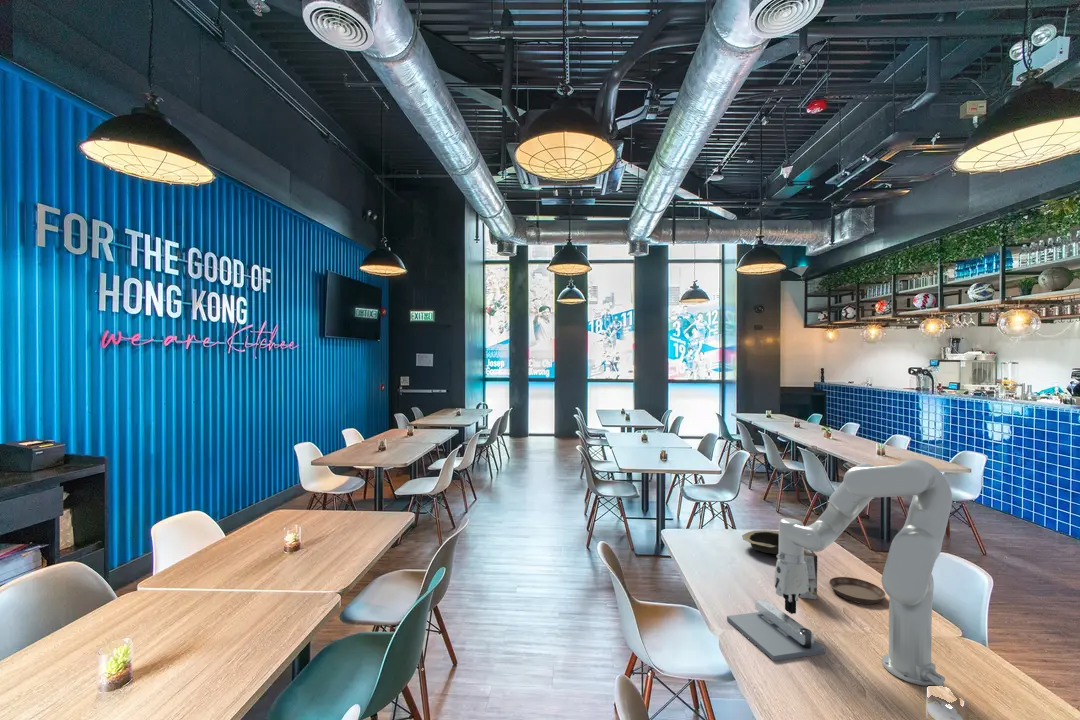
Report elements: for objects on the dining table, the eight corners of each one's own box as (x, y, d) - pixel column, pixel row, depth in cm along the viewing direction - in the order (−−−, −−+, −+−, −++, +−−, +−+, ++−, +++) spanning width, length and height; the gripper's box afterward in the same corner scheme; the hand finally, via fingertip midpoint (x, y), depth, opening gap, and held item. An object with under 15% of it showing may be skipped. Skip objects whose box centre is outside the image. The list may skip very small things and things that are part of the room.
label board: (824, 653, 140) (824, 647, 140) (773, 661, 136) (773, 654, 136) (772, 614, 162) (772, 609, 162) (726, 620, 157) (727, 615, 157)
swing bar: (815, 647, 140) (815, 632, 140) (803, 649, 139) (804, 634, 139) (765, 610, 161) (765, 597, 161) (755, 611, 160) (755, 598, 160)
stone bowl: (814, 563, 204) (813, 542, 204) (757, 567, 204) (755, 546, 204) (785, 541, 228) (783, 522, 228) (734, 544, 229) (732, 525, 228)
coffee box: (817, 599, 172) (818, 556, 172) (798, 597, 174) (799, 554, 174) (808, 588, 181) (809, 546, 181) (790, 586, 183) (791, 545, 183)
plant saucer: (849, 607, 168) (849, 598, 168) (819, 583, 186) (819, 576, 186) (897, 607, 168) (897, 599, 168) (862, 584, 186) (862, 576, 186)
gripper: (780, 563, 151) (779, 620, 151) (818, 559, 154) (818, 615, 154) (764, 554, 158) (763, 608, 158) (801, 550, 162) (800, 603, 162)
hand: (790, 611), depth 156 cm, fingers closed
